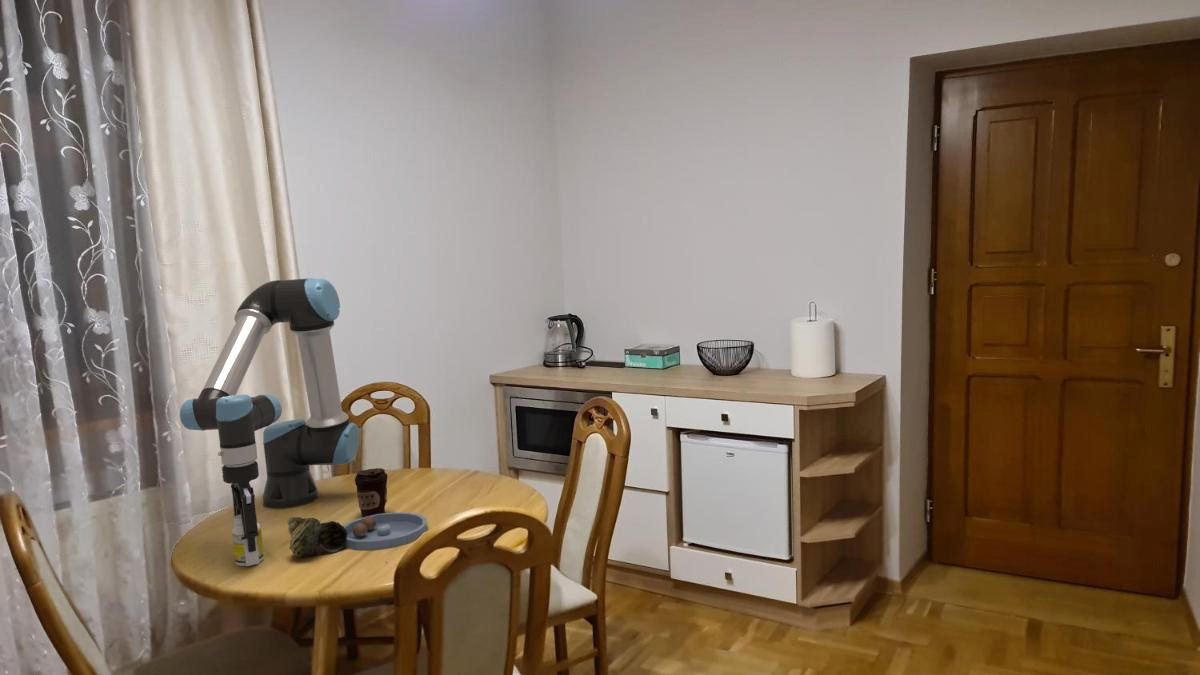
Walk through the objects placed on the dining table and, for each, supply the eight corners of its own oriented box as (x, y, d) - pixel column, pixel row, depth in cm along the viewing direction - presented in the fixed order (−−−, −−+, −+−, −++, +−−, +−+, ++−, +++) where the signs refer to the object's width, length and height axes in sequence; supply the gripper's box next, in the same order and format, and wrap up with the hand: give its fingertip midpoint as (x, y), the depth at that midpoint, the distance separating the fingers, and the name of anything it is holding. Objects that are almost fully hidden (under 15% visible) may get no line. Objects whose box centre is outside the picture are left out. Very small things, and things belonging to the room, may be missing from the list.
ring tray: (328, 536, 200) (327, 525, 199) (408, 517, 211) (407, 506, 211) (355, 560, 182) (354, 548, 182) (440, 537, 194) (440, 526, 194)
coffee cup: (380, 524, 207) (376, 475, 205) (351, 524, 208) (347, 475, 207) (395, 513, 215) (392, 466, 214) (367, 513, 217) (363, 466, 215)
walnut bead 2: (360, 530, 200) (359, 516, 200) (373, 527, 202) (372, 513, 202) (364, 533, 198) (363, 520, 197) (378, 530, 200) (377, 517, 199)
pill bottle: (258, 554, 189) (254, 509, 188) (268, 561, 185) (263, 515, 184) (231, 562, 185) (226, 516, 184) (240, 569, 181) (235, 522, 179)
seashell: (328, 566, 179) (324, 523, 178) (282, 565, 182) (278, 522, 181) (351, 549, 190) (347, 508, 189) (307, 548, 192) (303, 507, 191)
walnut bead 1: (351, 536, 196) (350, 523, 196) (365, 533, 198) (364, 519, 198) (355, 540, 193) (354, 526, 193) (370, 537, 195) (368, 523, 195)
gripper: (214, 458, 188) (224, 552, 191) (230, 474, 172) (240, 576, 175) (248, 452, 192) (257, 544, 195) (266, 467, 177) (276, 567, 179)
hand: (249, 559), depth 185 cm, fingers closed on pill bottle, 6 cm apart
